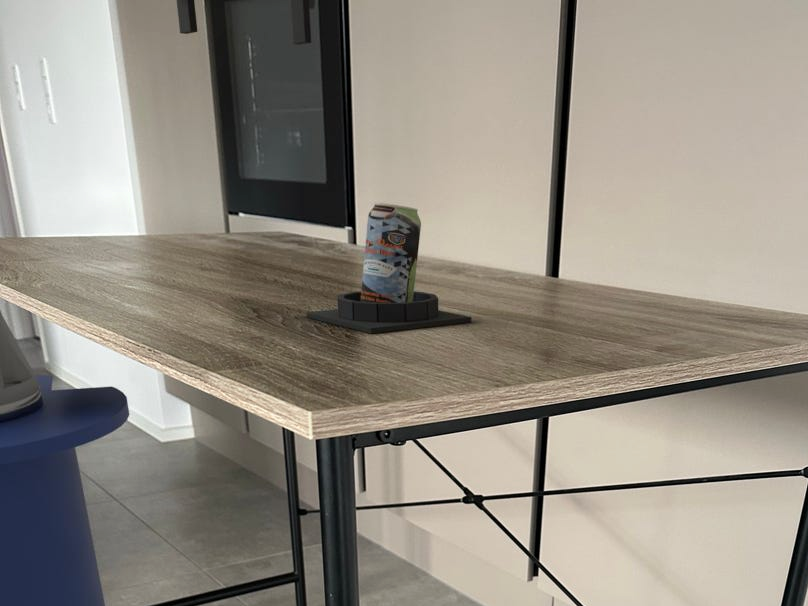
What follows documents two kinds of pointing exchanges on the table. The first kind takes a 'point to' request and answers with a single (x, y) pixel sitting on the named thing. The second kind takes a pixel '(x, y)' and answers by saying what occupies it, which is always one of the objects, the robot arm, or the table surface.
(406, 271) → the beverage can
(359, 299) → the holder pad
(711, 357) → the table surface
